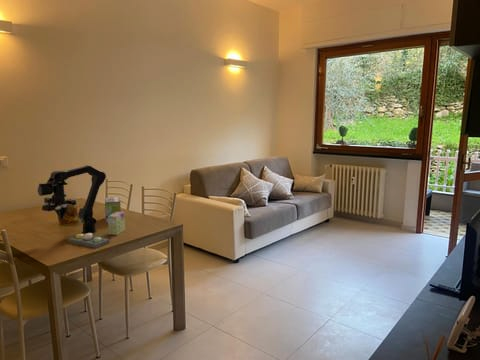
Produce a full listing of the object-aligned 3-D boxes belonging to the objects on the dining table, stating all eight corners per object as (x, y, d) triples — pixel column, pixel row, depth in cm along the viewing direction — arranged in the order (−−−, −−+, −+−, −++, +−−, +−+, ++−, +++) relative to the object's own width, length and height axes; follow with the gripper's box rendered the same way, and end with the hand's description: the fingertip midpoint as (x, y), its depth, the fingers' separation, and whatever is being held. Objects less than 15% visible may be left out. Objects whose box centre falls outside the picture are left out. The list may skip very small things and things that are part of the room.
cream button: (88, 237, 207) (88, 232, 207) (94, 238, 205) (93, 233, 205) (83, 239, 203) (82, 234, 203) (88, 240, 202) (87, 235, 201)
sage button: (97, 241, 204) (97, 236, 204) (103, 242, 203) (103, 237, 202) (92, 243, 201) (91, 238, 200) (97, 245, 199) (97, 240, 198)
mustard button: (80, 238, 210) (80, 233, 210) (85, 239, 209) (85, 234, 208) (74, 240, 207) (74, 235, 206) (79, 241, 205) (79, 236, 204)
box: (117, 229, 229) (116, 211, 227) (125, 230, 228) (124, 212, 226) (108, 234, 218) (107, 216, 216) (117, 235, 218) (116, 216, 216)
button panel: (82, 236, 214) (82, 233, 214) (109, 242, 205) (109, 239, 204) (68, 241, 205) (67, 238, 205) (95, 248, 196) (95, 244, 195)
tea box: (121, 221, 246) (120, 200, 243) (106, 223, 242) (104, 202, 239) (120, 216, 259) (119, 196, 257) (105, 217, 256) (104, 197, 253)
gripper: (63, 189, 217) (65, 214, 219) (34, 194, 200) (36, 221, 203) (76, 190, 212) (78, 216, 215) (47, 196, 195) (50, 224, 198)
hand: (61, 219), depth 208 cm, fingers closed
